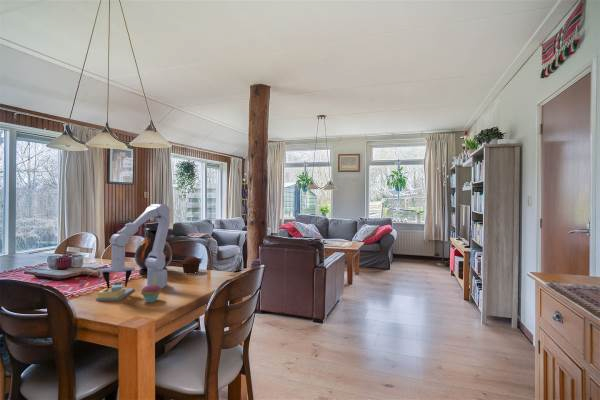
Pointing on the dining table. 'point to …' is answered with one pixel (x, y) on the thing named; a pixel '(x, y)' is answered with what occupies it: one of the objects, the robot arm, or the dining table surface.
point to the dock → (113, 294)
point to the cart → (116, 286)
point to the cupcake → (151, 292)
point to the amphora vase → (147, 247)
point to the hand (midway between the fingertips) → (117, 287)
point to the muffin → (191, 264)
